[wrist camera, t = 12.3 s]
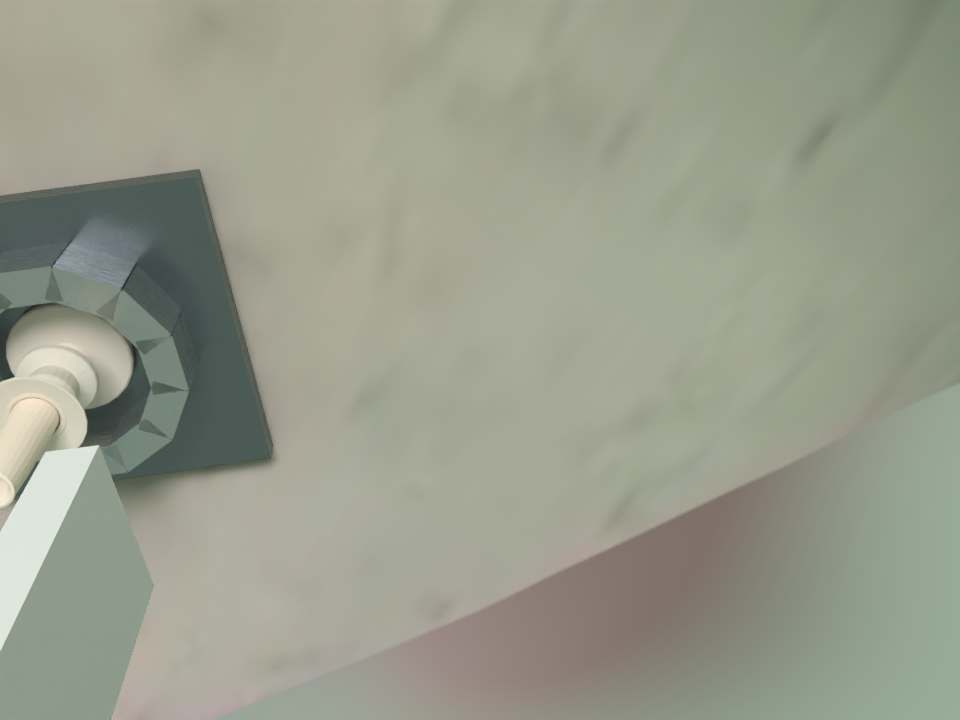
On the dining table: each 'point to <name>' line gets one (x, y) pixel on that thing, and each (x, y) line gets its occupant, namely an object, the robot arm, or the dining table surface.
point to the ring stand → (142, 316)
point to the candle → (55, 385)
